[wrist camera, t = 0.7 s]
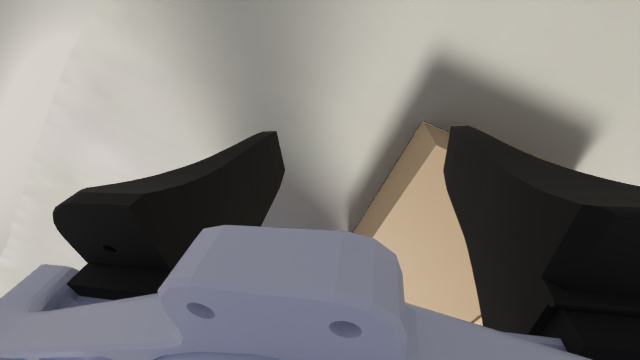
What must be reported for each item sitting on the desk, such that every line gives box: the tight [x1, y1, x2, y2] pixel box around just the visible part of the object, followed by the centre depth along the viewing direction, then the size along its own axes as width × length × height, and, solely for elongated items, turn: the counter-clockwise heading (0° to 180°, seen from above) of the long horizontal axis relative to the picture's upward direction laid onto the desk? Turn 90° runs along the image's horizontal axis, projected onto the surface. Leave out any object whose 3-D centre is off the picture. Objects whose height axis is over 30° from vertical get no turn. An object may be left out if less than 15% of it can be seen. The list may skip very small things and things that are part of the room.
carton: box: [353, 121, 481, 322], centre depth 23 cm, size 14×12×5 cm
